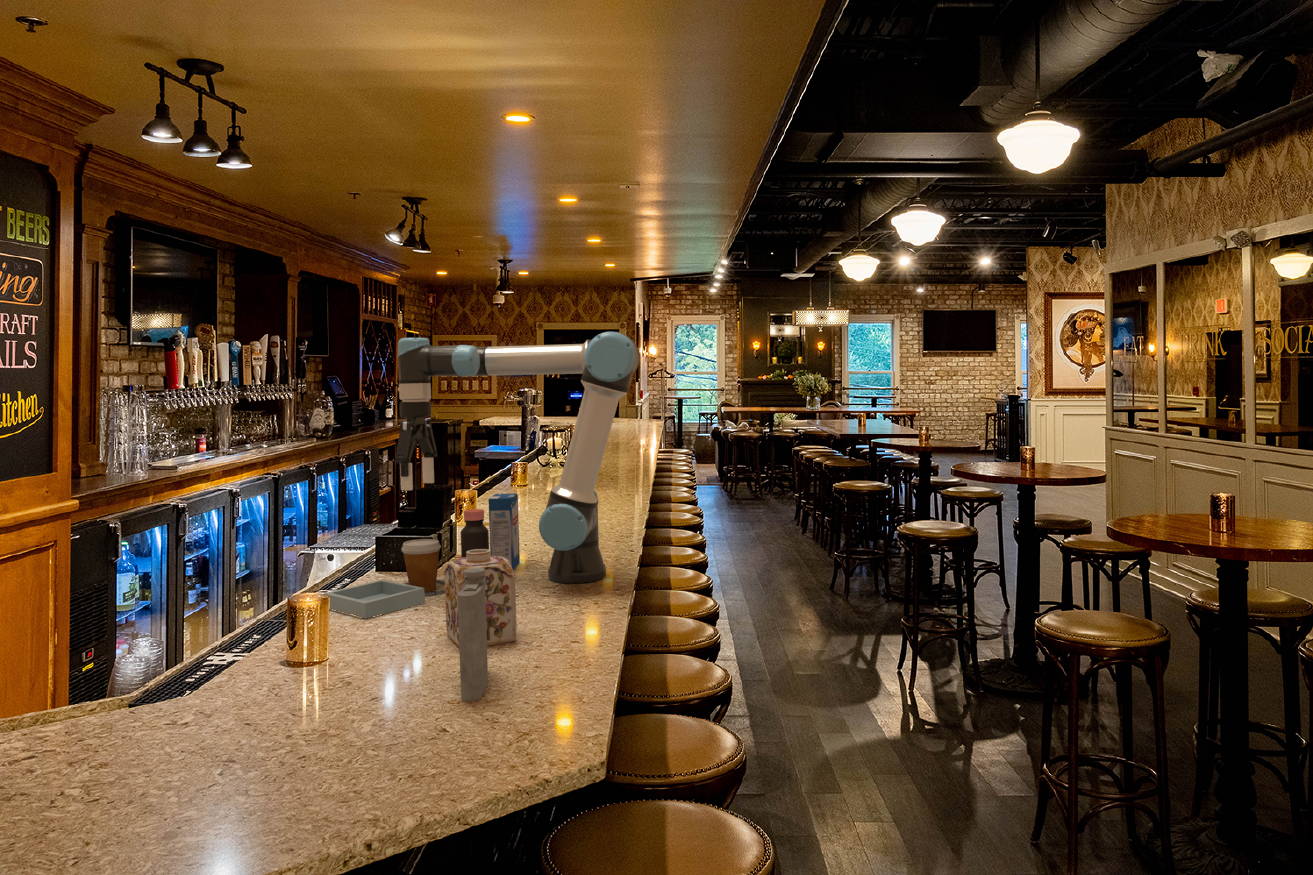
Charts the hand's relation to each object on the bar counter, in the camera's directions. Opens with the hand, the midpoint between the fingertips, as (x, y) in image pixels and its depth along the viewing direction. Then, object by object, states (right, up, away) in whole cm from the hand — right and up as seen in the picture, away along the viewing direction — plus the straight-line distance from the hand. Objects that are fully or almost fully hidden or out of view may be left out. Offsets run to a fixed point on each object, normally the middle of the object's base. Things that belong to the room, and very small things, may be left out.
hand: (418, 486), depth 209 cm
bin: (-6, -27, -13) cm, 31 cm away
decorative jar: (+24, -29, -39) cm, 54 cm away
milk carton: (+17, -24, +26) cm, 39 cm away
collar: (+1, -26, +2) cm, 26 cm away
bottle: (+14, -26, 0) cm, 30 cm away
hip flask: (+28, -30, -65) cm, 77 cm away
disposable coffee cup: (+1, -26, +2) cm, 26 cm away
